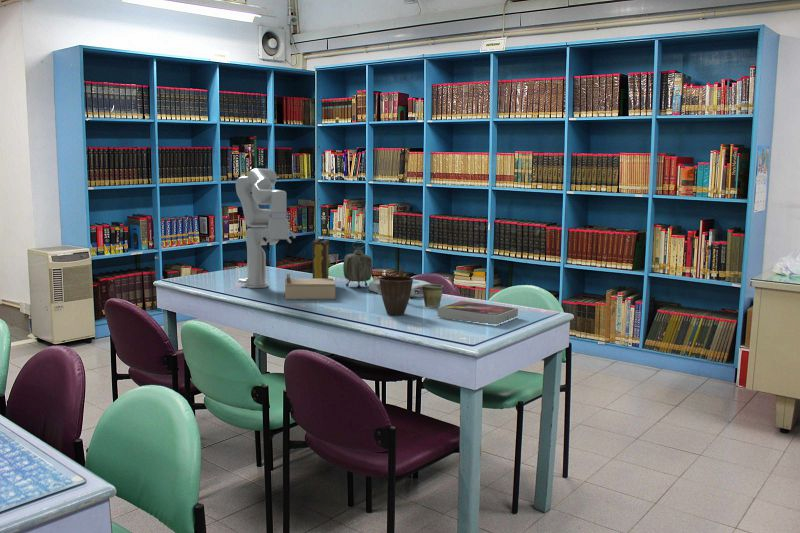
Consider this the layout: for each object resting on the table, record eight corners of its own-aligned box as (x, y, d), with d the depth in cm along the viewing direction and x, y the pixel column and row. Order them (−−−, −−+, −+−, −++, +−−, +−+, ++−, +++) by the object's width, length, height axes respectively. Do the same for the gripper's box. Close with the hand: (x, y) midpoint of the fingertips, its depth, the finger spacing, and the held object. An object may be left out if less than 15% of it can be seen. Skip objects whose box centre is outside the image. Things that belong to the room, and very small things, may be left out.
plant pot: (371, 313, 314) (372, 277, 312) (394, 309, 325) (395, 274, 323) (396, 318, 304) (397, 282, 302) (418, 314, 315) (420, 278, 313)
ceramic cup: (439, 309, 328) (439, 288, 327) (418, 307, 332) (419, 286, 330) (447, 304, 340) (447, 284, 339) (427, 302, 344) (427, 282, 342)
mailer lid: (285, 285, 341) (285, 278, 341) (285, 280, 359) (285, 273, 358) (335, 285, 345) (335, 278, 345) (332, 280, 363) (332, 273, 362)
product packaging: (496, 327, 294) (496, 316, 294) (437, 318, 310) (437, 307, 309) (517, 319, 312) (518, 308, 312) (461, 311, 328) (461, 300, 327)
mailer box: (285, 299, 342) (285, 286, 341) (285, 293, 360) (285, 280, 359) (335, 299, 346) (335, 286, 345) (332, 293, 364) (332, 280, 363)
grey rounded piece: (368, 285, 391) (369, 240, 388) (373, 288, 383) (374, 241, 379) (342, 286, 387) (343, 240, 383) (347, 288, 378) (347, 242, 375)
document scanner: (410, 299, 354) (410, 286, 353) (368, 292, 371) (368, 280, 370) (435, 294, 370) (435, 282, 369) (393, 287, 387) (393, 276, 387)
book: (326, 290, 372) (326, 242, 369) (309, 289, 373) (310, 242, 369) (330, 283, 394) (331, 238, 391) (315, 283, 394) (316, 238, 391)
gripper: (260, 216, 340) (260, 251, 342) (296, 216, 343) (296, 251, 345) (260, 215, 348) (260, 250, 350) (296, 215, 351) (296, 250, 353)
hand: (278, 250), depth 348 cm, fingers open, 9 cm apart
